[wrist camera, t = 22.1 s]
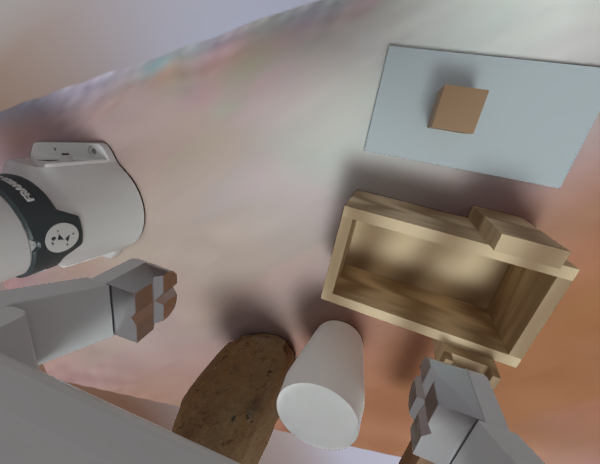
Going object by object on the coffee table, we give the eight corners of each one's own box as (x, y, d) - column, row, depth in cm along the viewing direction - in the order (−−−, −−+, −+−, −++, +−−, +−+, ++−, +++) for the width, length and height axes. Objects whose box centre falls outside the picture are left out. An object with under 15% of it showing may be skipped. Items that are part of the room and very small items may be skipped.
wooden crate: (333, 277, 37) (311, 325, 28) (360, 177, 32) (344, 195, 23) (483, 327, 33) (515, 403, 24) (541, 221, 28) (610, 265, 19)
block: (298, 337, 42) (222, 491, 24) (300, 377, 44) (232, 544, 26) (233, 324, 45) (124, 451, 27) (238, 362, 48) (140, 501, 30)
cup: (378, 323, 37) (369, 401, 26) (365, 375, 40) (352, 464, 29) (311, 304, 39) (278, 369, 28) (304, 355, 42) (272, 430, 32)
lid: (365, 149, 31) (358, 153, 26) (389, 49, 28) (387, 30, 23) (553, 186, 27) (589, 198, 22) (610, 72, 23) (669, 56, 18)
